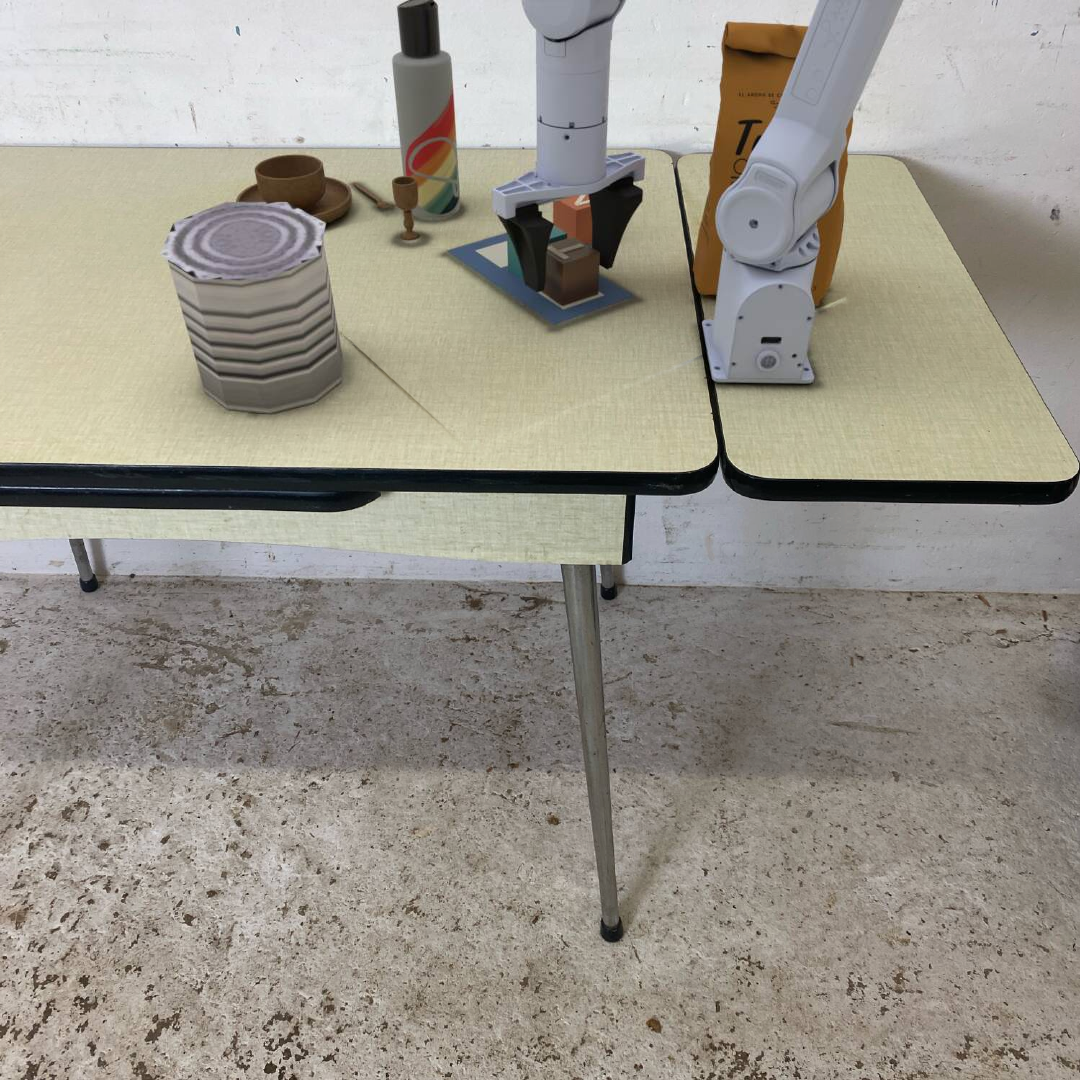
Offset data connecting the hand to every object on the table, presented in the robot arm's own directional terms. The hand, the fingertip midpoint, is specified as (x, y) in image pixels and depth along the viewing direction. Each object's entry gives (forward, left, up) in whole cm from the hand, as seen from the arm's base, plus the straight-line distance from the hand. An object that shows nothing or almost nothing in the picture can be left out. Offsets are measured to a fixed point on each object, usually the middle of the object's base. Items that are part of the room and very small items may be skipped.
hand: (569, 275), depth 85 cm
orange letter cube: (+13, -1, -2) cm, 13 cm away
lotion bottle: (+19, +15, -2) cm, 24 cm away
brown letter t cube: (0, 0, -2) cm, 2 cm away
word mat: (+4, +3, -2) cm, 5 cm away
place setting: (+15, +27, -2) cm, 31 cm away
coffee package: (+2, -17, -2) cm, 18 cm away
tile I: (+4, +3, -2) cm, 5 cm away
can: (-14, +24, -2) cm, 27 cm away
